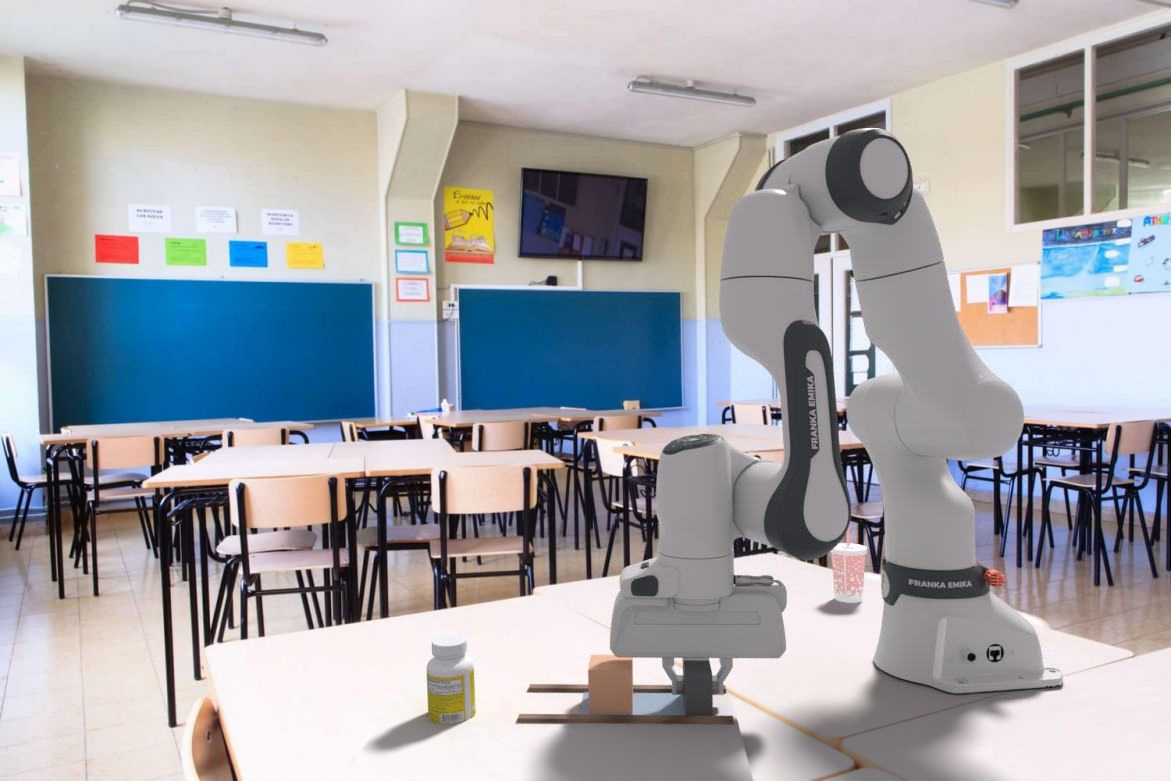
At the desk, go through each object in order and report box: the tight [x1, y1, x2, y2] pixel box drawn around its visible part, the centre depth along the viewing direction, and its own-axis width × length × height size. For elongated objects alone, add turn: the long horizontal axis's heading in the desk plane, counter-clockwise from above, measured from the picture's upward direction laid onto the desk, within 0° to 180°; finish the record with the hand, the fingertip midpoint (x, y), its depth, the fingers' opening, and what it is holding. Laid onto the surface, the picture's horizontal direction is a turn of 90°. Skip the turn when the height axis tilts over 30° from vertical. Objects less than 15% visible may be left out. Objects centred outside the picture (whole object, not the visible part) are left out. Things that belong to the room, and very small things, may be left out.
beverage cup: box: [829, 526, 868, 604], centre depth 143 cm, size 6×6×14 cm
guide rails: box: [517, 683, 735, 725], centre depth 98 cm, size 24×10×2 cm, turn 86°
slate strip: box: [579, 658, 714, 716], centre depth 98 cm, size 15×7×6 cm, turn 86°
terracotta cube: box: [587, 654, 634, 713], centre depth 98 cm, size 5×5×5 cm
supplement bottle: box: [426, 634, 476, 725], centre depth 97 cm, size 5×5×10 cm
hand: (697, 693), depth 98 cm, fingers closed on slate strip, 3 cm apart
